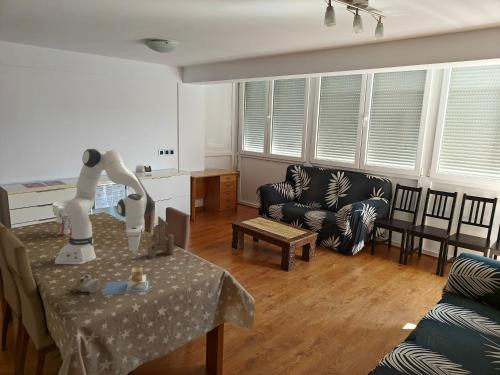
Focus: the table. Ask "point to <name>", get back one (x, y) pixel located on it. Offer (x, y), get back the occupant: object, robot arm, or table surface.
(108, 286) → the board
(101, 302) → the table surface
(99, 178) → the robot arm
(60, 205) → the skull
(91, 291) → the ceramic sculpture
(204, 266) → the table surface
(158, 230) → the wooden toy
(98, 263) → the table surface
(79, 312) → the table surface
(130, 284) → the base block
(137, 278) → the oak cube
